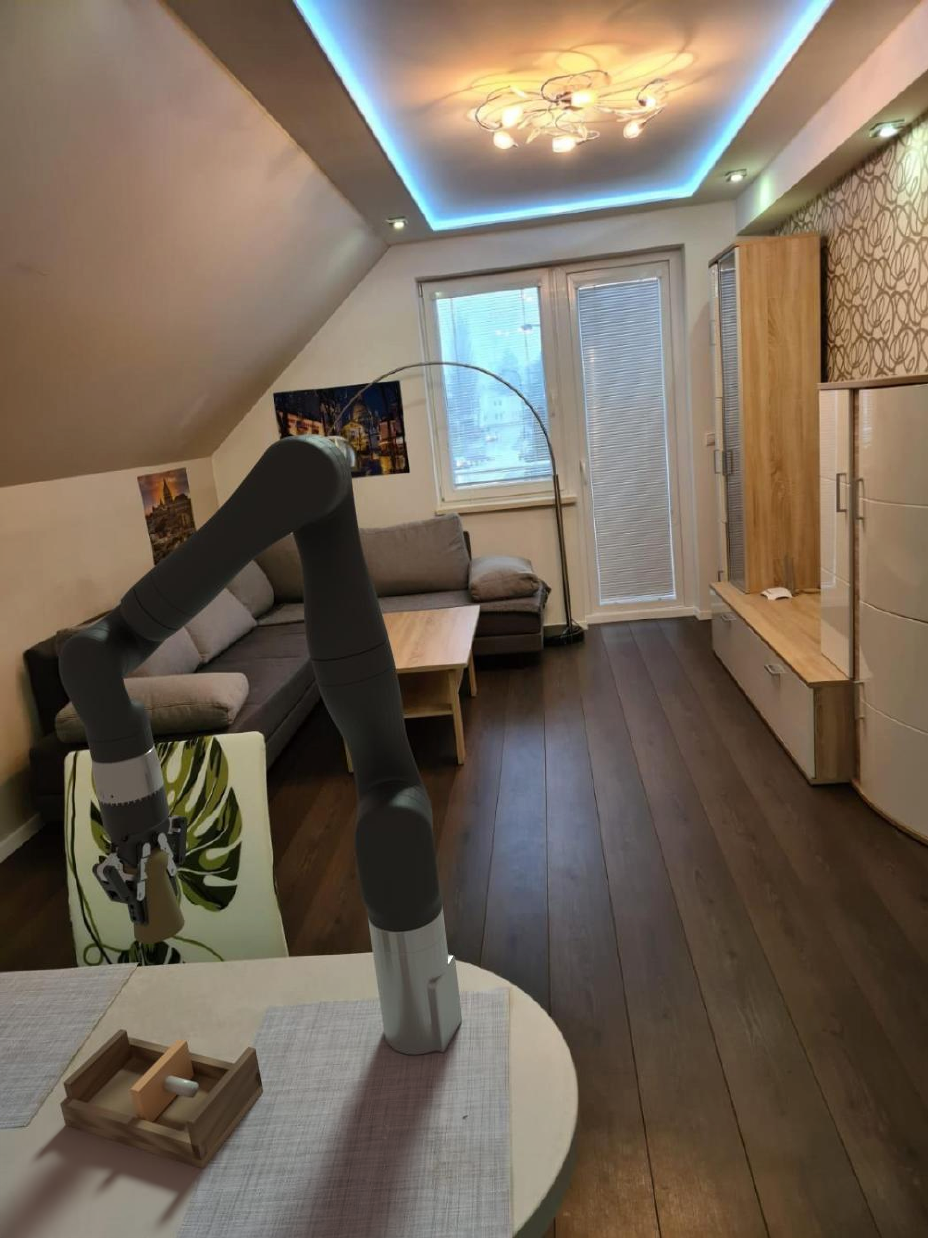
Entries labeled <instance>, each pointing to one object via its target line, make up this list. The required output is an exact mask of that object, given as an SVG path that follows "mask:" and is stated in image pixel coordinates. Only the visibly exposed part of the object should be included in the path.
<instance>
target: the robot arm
mask: <svg viewBox="0 0 928 1238" xmlns="http://www.w3.org/2000/svg"><path fill="white" fill-rule="evenodd" d="M350 468H351V467H350V464H349V462H348V458H347V457H346V456H345V454H344V452H343V451H342V450H341V449H340V447H339V446H338V445H336V444H335V443H334V442H333V441H332V440H330V439H328V438H327V437H325V436H323V435H320V434H315V433H302V434H297V435H291V436H286V437H283V438H281V439H279V440H276V441H275V442H273V443H271V445H269V446H268V448H267V449H265V451H264V452H263V454H262V455H261V457H260V458H259V459H258V461H257V462H256V463H255V464H254V466H253V467H252V468H251V470H250V471H249V472H248V474H247V475H246V476H245V478H244V479H243V480H242V481H241V482H240V484H239V485H238V487H236V489H234V492H233V493H232V494H231V495H230V496H229V497H228V499H227V500H226V501H225V502H224V503H223V504H222V505H221V506H220V507H219V509H217V510H216V511H215V513H214V514H213V515H212V516H211V517H210V518H209V519H208V520H207V521H206V522H205V523H204V524H202V526H200V528H198V529H197V530H196V531H195V532H193V533H192V534H191V535H190V536H189V537H187V538H186V539H185V540H184V541H183V542H182V543H180V544H179V545H178V546H177V547H176V548H175V549H173V550H172V551H171V552H170V553H168V554H167V555H166V556H165V557H164V558H163V559H161V560H160V561H159V562H158V563H157V564H156V565H154V566H153V567H152V568H151V569H149V571H147V572H146V573H145V574H144V575H143V576H142V577H141V578H140V579H138V580H137V581H136V582H135V583H134V584H133V585H132V586H131V587H130V588H129V589H128V590H127V591H126V593H125V594H124V595H123V597H122V599H121V602H120V603H119V604H118V605H117V606H116V607H115V608H113V610H111V611H110V612H109V613H107V614H106V615H105V616H104V617H103V618H101V619H100V620H99V621H97V622H95V623H94V624H93V625H91V626H88V627H87V628H84V630H81V631H80V632H77V633H75V634H74V635H72V636H71V637H69V638H68V639H67V640H66V641H65V642H64V643H63V644H62V647H61V648H60V649H61V650H60V652H59V656H58V657H59V658H58V672H59V676H60V681H61V684H62V686H63V688H64V690H65V693H66V695H67V696H68V698H69V701H70V703H71V704H72V707H73V708H74V710H75V712H76V714H77V715H78V718H79V720H80V721H81V722H82V724H83V726H84V729H85V736H86V741H87V745H88V750H89V755H90V758H91V759H90V760H91V766H92V767H91V769H92V780H93V785H94V788H95V794H96V797H97V802H98V806H99V812H100V816H101V821H102V824H103V825H102V826H103V829H104V831H105V832H106V834H107V835H108V837H109V840H110V845H109V855H108V856H107V857H106V858H105V860H104V861H103V862H102V863H99V862H97V863H95V864H93V865H92V868H91V872H92V874H93V876H94V877H95V879H96V880H97V882H98V883H99V885H100V886H101V888H102V889H103V890H104V893H105V894H106V895H107V897H108V899H109V900H110V901H111V902H115V903H120V904H123V905H124V904H126V905H127V909H128V913H129V918H130V921H131V923H132V924H134V923H135V924H136V925H138V924H140V925H142V926H147V925H148V924H149V917H148V906H147V898H146V897H144V896H145V880H146V879H147V875H146V872H144V870H145V865H146V862H147V860H148V858H149V856H150V851H151V850H153V849H155V848H159V849H163V850H165V851H166V852H167V854H168V858H169V859H168V867H167V869H166V871H167V874H168V877H169V879H170V882H171V885H172V888H173V890H174V893H175V896H176V898H177V901H178V897H179V896H178V895H179V890H178V885H177V879H176V874H177V871H178V867H179V865H183V864H185V862H186V859H187V858H186V857H187V856H186V855H187V840H188V838H187V837H188V836H187V835H188V818H187V817H186V816H181V815H176V814H175V815H174V814H170V806H169V801H168V797H167V796H168V795H167V791H166V787H165V786H166V785H165V781H164V776H163V771H162V767H161V762H160V759H159V755H158V752H157V750H156V746H155V741H154V737H153V732H152V728H151V722H150V719H149V718H150V717H149V714H148V711H147V708H146V706H145V705H144V703H143V702H142V701H140V700H138V699H135V698H130V695H129V693H128V690H127V688H126V686H125V678H126V677H127V676H129V675H130V674H132V673H133V672H134V671H136V670H137V669H138V668H139V667H140V666H142V665H143V663H145V662H146V661H147V660H148V659H149V658H150V657H151V656H152V655H153V654H154V653H155V652H156V651H157V650H158V649H159V648H160V647H161V645H162V644H163V643H164V642H165V641H166V640H167V639H169V638H171V637H172V636H173V635H175V634H176V633H177V632H179V631H180V630H181V629H182V628H183V627H185V626H186V625H187V624H188V623H189V622H191V621H192V620H193V619H194V618H195V617H196V616H197V615H198V614H200V613H201V612H202V611H203V610H204V609H205V608H207V607H208V605H209V604H211V603H212V602H213V601H214V600H215V599H216V598H217V597H218V596H219V595H220V594H221V593H222V592H223V591H224V590H225V589H226V588H227V586H228V585H230V583H232V581H233V580H234V579H235V578H236V577H237V576H238V574H240V573H241V571H243V569H244V568H245V567H246V566H248V564H250V563H252V561H253V560H254V559H256V558H257V557H258V556H259V555H261V554H262V553H263V552H264V551H266V550H267V549H269V548H270V547H272V546H273V545H275V543H277V542H279V541H280V540H283V539H285V537H287V536H289V535H291V534H292V535H293V538H294V542H295V545H296V547H297V552H298V555H299V560H300V564H301V570H302V587H303V590H302V591H303V617H304V619H303V620H304V630H305V631H304V633H305V640H306V644H307V649H308V654H309V658H310V662H311V665H312V669H313V674H314V676H315V679H316V684H317V687H318V690H319V693H320V696H321V698H322V701H323V704H324V706H325V707H326V709H327V712H328V714H329V715H330V717H331V719H332V720H333V723H334V724H335V726H336V728H337V729H338V731H339V733H340V735H341V736H342V738H343V740H344V742H345V745H346V747H347V751H348V753H349V757H350V761H351V765H352V771H353V775H354V781H355V787H356V796H357V814H356V819H355V826H354V834H353V842H354V853H355V859H356V867H357V872H358V879H359V885H360V891H361V897H362V901H363V904H364V905H365V907H366V912H367V919H368V925H369V933H370V942H371V949H372V953H373V954H372V956H373V961H374V962H373V963H374V968H375V969H374V970H375V977H376V983H377V991H378V997H379V1004H380V1011H381V1017H382V1018H381V1020H382V1025H383V1032H384V1033H383V1034H384V1038H385V1041H386V1043H387V1044H388V1045H389V1046H390V1048H392V1049H394V1050H395V1051H396V1052H400V1054H401V1053H402V1054H406V1055H416V1056H417V1055H422V1054H427V1053H431V1052H441V1053H444V1052H445V1051H446V1049H447V1048H448V1045H449V1044H450V1043H451V1040H452V1038H453V1036H454V1035H455V1033H456V1031H457V1029H458V1028H459V1026H460V1023H461V1022H462V1020H463V1016H462V1006H461V997H460V996H461V995H460V988H459V980H458V971H457V963H456V956H454V954H449V951H448V944H447V934H446V925H445V917H444V909H443V899H442V898H443V897H442V889H441V886H440V881H439V873H438V865H437V855H436V848H435V847H436V846H435V838H434V837H435V835H434V826H433V825H434V823H433V821H434V819H433V809H432V808H433V807H432V803H431V801H430V797H429V795H428V792H427V789H426V786H425V785H424V784H425V783H424V782H423V779H422V777H421V774H420V772H419V768H418V766H417V764H416V761H415V757H414V755H413V752H412V748H411V745H410V742H409V739H408V736H407V735H408V734H407V732H406V725H405V715H404V709H403V708H404V707H403V700H402V695H401V688H400V687H401V686H400V683H399V682H400V680H399V678H398V677H399V676H398V673H397V667H396V661H395V659H394V654H393V650H392V645H391V642H390V638H389V633H388V629H387V626H386V624H385V620H384V617H383V612H382V609H381V606H380V601H379V598H378V595H377V591H376V589H375V586H374V583H373V580H372V576H371V572H370V570H369V568H368V565H367V561H366V558H365V555H364V549H363V546H362V541H361V535H360V530H359V523H358V515H357V510H356V502H355V495H354V494H355V493H354V487H353V478H352V477H353V476H352V472H351V469H350ZM175 845H176V852H175ZM144 863H145V864H144ZM124 866H125V867H127V868H133V869H136V868H137V867H138V873H137V875H134V874H128V873H126V872H125V870H124ZM133 881H134V883H135V889H133Z"/></svg>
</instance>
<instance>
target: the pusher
mask: <svg viewBox="0 0 928 1238" xmlns="http://www.w3.org/2000/svg"><path fill="white" fill-rule="evenodd" d="M169 1047H170V1048H169V1049H168V1050H167V1051H166V1053H165V1054H164V1055H163V1056H162V1057H161V1058H160V1059H159V1060H158V1061H157V1062H156V1063H155V1064H154V1065H153V1066H152V1067H151V1068H150V1069H149V1070H148V1071H147V1072H146V1073H145V1074H144V1075H143V1076H142V1077H141V1079H140V1080H139V1081H138V1082H137V1083H136V1084H135V1085H134V1086H133V1087H132V1088H131V1094H132V1098H133V1102H134V1107H135V1111H136V1115H137V1118H138V1119H142V1120H145V1121H148V1122H153V1121H154V1120H155V1119H156V1118H157V1117H158V1116H159V1114H160V1113H161V1112H162V1111H163V1110H164V1109H165V1108H166V1107H167V1105H168V1104H169V1103H170V1102H171V1101H172V1100H173V1099H174V1098H175V1096H176V1095H177V1094H178V1095H182V1096H185V1097H189V1098H193V1097H195V1095H196V1094H197V1092H198V1083H196V1082H193V1081H190V1080H191V1078H192V1077H193V1076H194V1073H193V1068H192V1063H191V1058H190V1054H189V1052H190V1049H189V1044H188V1040H186V1039H181V1038H178V1039H177V1040H176V1041H175V1042H174V1043H173V1044H172V1045H171V1046H169Z"/></svg>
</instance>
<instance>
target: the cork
mask: <svg viewBox="0 0 928 1238" xmlns="http://www.w3.org/2000/svg"><path fill="white" fill-rule="evenodd" d="M168 859H169V858H168V854H167V852H166V851H165V850H163V849H159V848H155V849H153V850H151V851H150V856H149V858H148V860H147V862H146V865H145V870H144V872H146V875H147V879H146V880H145V896H144V897H146V898H147V906H148V917H149V924H148V925H147V926H142V925H140V924H138V925H136V924H135V923H133V934H134V935H133V936H134V939H135V940H136V941H137V942H139V943H141V944H146V945H147V944H156V943H160V942H164V941H167V940H169V939H171V938H173V937H174V936H176V935H177V934H178V933H179V932H180V931H182V930H183V928H184V926H185V923H186V921H185V918H184V914H183V912H182V910H181V907H180V903H179V902H178V901H177V899H178V897H177V898H176V896H175V893H174V890H173V888H172V885H171V882H170V879H169V877H168V874H167V871H166V869H167V867H168ZM144 864H145V863H144ZM124 870H125V872H126V873H128V874H134V875H137V873H138V867H137V868H136V869H133V868H127V867H125V866H124ZM133 889H135V883H134V881H133Z"/></svg>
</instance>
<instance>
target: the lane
mask: <svg viewBox="0 0 928 1238" xmlns="http://www.w3.org/2000/svg"><path fill="white" fill-rule="evenodd" d="M170 1047H171V1046H167V1045H162V1044H158V1043H155V1042H151V1041H146V1040H143V1039H139V1038H135V1037H132V1036H129V1035H128V1031H127V1029H126V1030H125V1029H121V1028H120V1029H119V1030H118V1031H117V1032H116V1033H114V1034H113V1035H112V1036H111V1037H110V1038H109V1039H108V1040H107V1041H106V1042H105V1043H103V1045H102V1046H101V1047H99V1048H98V1050H96V1051H95V1052H94V1053H93V1054H92V1055H91V1056H90V1057H88V1059H87V1060H86V1061H84V1063H83V1064H82V1065H80V1067H78V1068H77V1069H76V1070H75V1071H74V1072H72V1074H70V1076H68V1078H66V1079H65V1080H64V1081H63V1087H64V1091H65V1096H66V1097H65V1098H64V1099H63V1100H62V1101H61V1102H60V1103H59V1105H60V1109H61V1113H62V1116H63V1121H64V1124H65V1126H68V1127H71V1128H73V1129H77V1130H80V1131H84V1132H87V1133H89V1134H93V1135H96V1136H99V1137H102V1138H105V1139H108V1140H112V1141H115V1142H119V1143H121V1144H124V1145H127V1146H131V1147H134V1148H137V1149H140V1150H143V1151H145V1152H149V1153H151V1154H152V1153H153V1154H155V1155H158V1156H162V1157H165V1158H168V1159H172V1160H175V1161H178V1162H180V1163H184V1164H187V1165H190V1166H194V1167H197V1168H199V1169H204V1168H205V1167H206V1166H207V1165H208V1163H209V1162H210V1161H211V1159H212V1158H213V1157H214V1156H215V1154H216V1153H217V1152H218V1151H219V1150H220V1148H221V1147H222V1145H223V1144H224V1142H225V1141H226V1140H227V1138H228V1137H229V1136H230V1134H232V1132H233V1131H234V1130H235V1128H236V1127H237V1126H238V1124H239V1123H240V1122H241V1121H242V1119H244V1117H245V1116H246V1114H247V1113H248V1112H249V1110H250V1109H251V1107H252V1106H253V1105H254V1103H255V1102H256V1101H257V1100H258V1098H259V1097H260V1095H262V1093H264V1087H263V1083H262V1081H263V1080H262V1076H261V1072H260V1067H259V1060H258V1055H257V1050H256V1048H255V1047H251V1046H247V1048H246V1049H245V1050H244V1051H243V1052H242V1053H241V1055H240V1056H239V1057H238V1058H237V1060H236V1061H235V1062H231V1061H230V1062H229V1061H225V1060H222V1059H218V1058H214V1057H210V1056H206V1055H202V1054H198V1053H193V1052H192V1051H189V1054H190V1058H191V1063H192V1068H193V1073H194V1076H193V1077H192V1078H191V1080H190V1081H193V1082H196V1083H198V1092H197V1094H196V1095H195V1097H193V1098H189V1097H185V1096H182V1095H178V1094H177V1095H176V1096H175V1098H174V1099H173V1100H172V1101H171V1102H170V1103H169V1104H168V1105H167V1107H166V1108H165V1109H164V1110H163V1111H162V1112H161V1113H160V1114H159V1116H158V1117H157V1118H156V1119H155V1120H154V1121H153V1122H148V1121H145V1120H142V1119H138V1118H137V1115H136V1111H135V1107H134V1102H133V1098H132V1094H131V1088H132V1087H133V1086H134V1085H135V1084H136V1083H137V1082H138V1081H139V1080H140V1079H141V1077H142V1076H143V1075H144V1074H145V1073H146V1072H147V1071H148V1070H149V1069H150V1068H151V1067H152V1066H153V1065H154V1064H155V1063H156V1062H157V1061H158V1060H159V1059H160V1058H161V1057H162V1056H163V1055H164V1054H165V1053H166V1051H167V1050H168V1049H169V1048H170Z"/></svg>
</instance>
